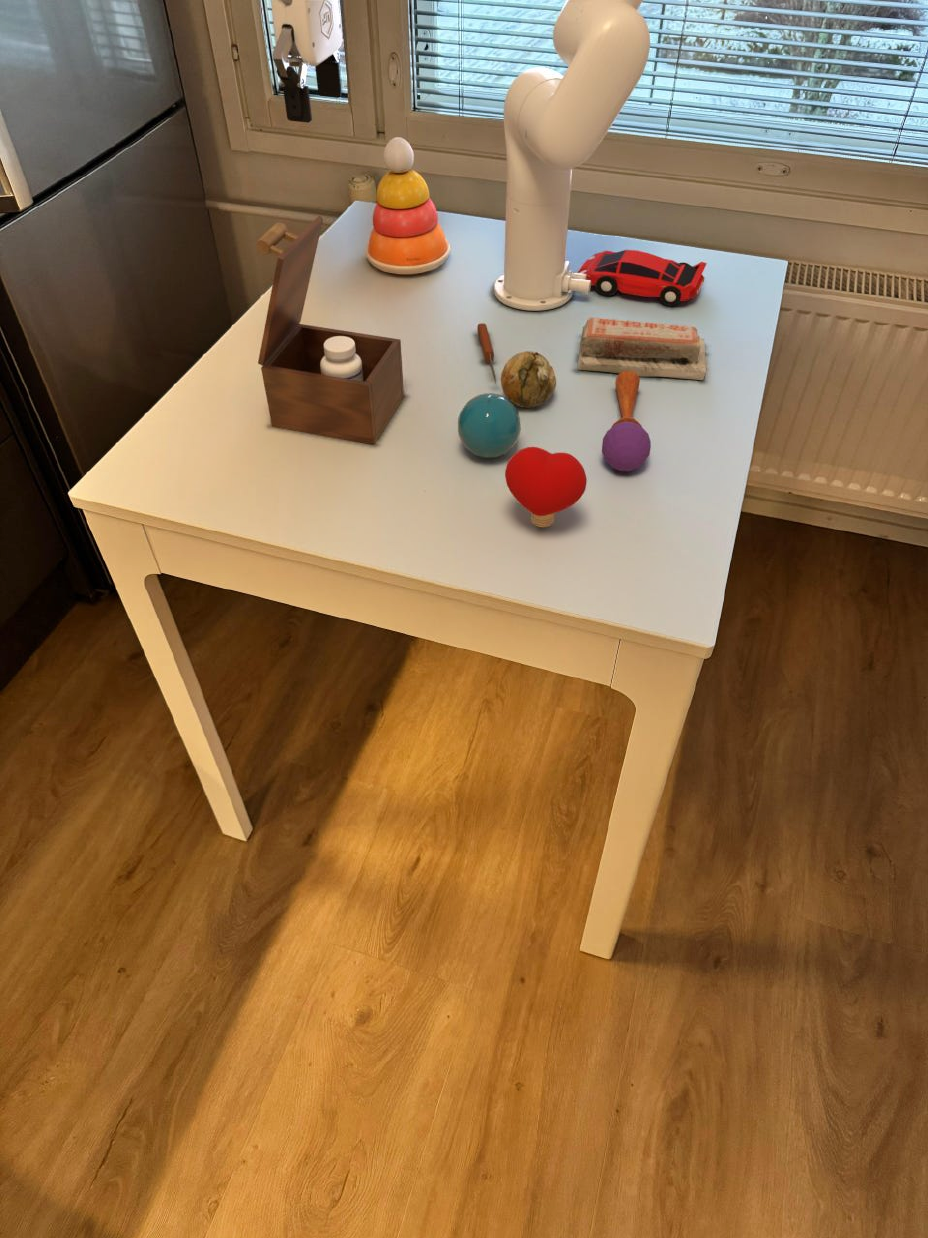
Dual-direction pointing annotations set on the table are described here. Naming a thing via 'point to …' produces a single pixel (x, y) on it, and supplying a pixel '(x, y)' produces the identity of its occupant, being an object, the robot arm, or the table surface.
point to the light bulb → (545, 482)
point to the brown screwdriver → (486, 345)
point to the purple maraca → (626, 429)
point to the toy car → (643, 275)
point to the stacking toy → (405, 218)
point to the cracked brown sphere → (528, 379)
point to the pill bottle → (341, 359)
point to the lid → (287, 281)
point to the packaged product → (642, 348)
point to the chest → (333, 386)
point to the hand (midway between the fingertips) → (315, 107)
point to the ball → (489, 425)
